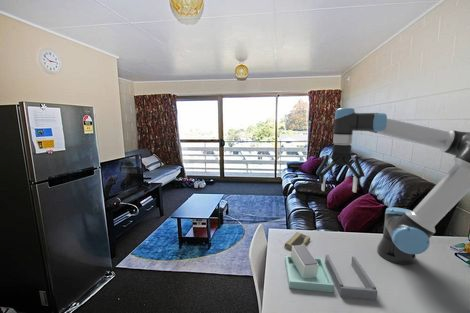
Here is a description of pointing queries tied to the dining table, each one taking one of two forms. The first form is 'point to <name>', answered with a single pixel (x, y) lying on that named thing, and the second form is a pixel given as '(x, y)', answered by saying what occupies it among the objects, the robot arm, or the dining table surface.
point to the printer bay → (353, 292)
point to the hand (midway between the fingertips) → (338, 191)
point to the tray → (315, 283)
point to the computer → (297, 240)
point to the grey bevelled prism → (304, 261)
